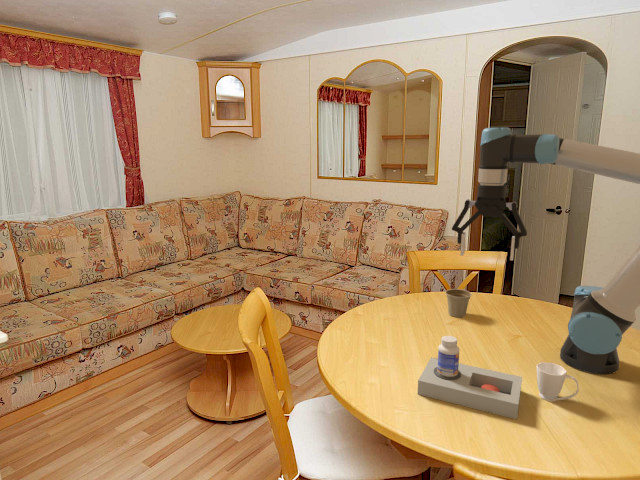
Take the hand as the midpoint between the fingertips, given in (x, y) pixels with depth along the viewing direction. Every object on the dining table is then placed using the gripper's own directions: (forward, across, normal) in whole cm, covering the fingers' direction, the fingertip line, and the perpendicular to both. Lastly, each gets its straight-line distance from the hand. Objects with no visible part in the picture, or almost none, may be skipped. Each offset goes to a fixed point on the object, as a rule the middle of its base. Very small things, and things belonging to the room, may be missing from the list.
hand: (486, 256), depth 131 cm
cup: (+32, -20, +16) cm, 41 cm away
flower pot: (+32, +12, -31) cm, 46 cm away
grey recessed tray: (+31, 0, +22) cm, 39 cm away
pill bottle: (+27, +6, +22) cm, 36 cm away
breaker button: (+31, -5, +22) cm, 39 cm away
